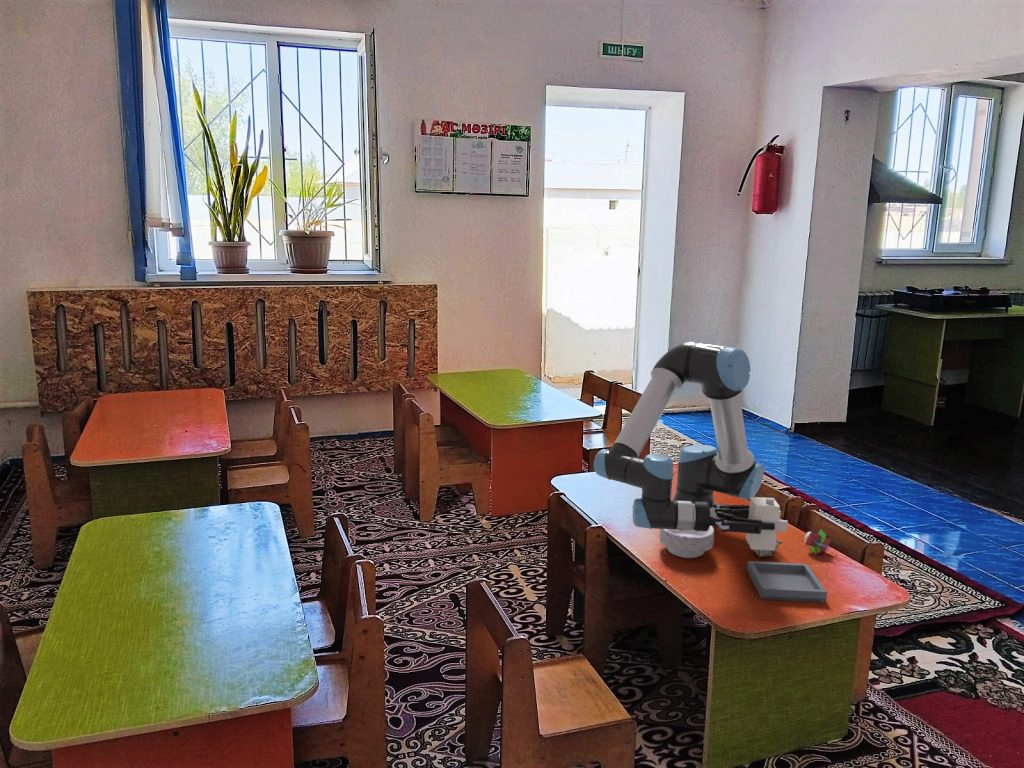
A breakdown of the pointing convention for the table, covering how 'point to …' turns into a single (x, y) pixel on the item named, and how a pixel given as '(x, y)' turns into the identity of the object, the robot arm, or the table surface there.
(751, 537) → the carton
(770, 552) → the game die
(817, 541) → the geometric puzzle
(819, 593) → the tray
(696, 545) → the white round bowl
